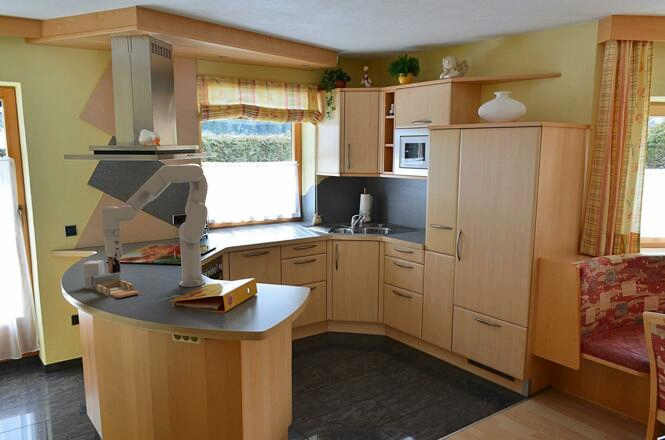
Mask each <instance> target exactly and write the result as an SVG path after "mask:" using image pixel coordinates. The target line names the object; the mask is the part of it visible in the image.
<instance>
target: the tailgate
mask: <svg viewBox="0 0 665 440" xmlns="http://www.w3.org/2000/svg"><path fill="white" fill-rule="evenodd" d="M137 294H138V295H139V294H141V293H140V291H139V290H134V291H127V292H122V293H117V294H113V295H111V296H110V297H114V298H124V297H131V296H134V295H137Z"/></svg>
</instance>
